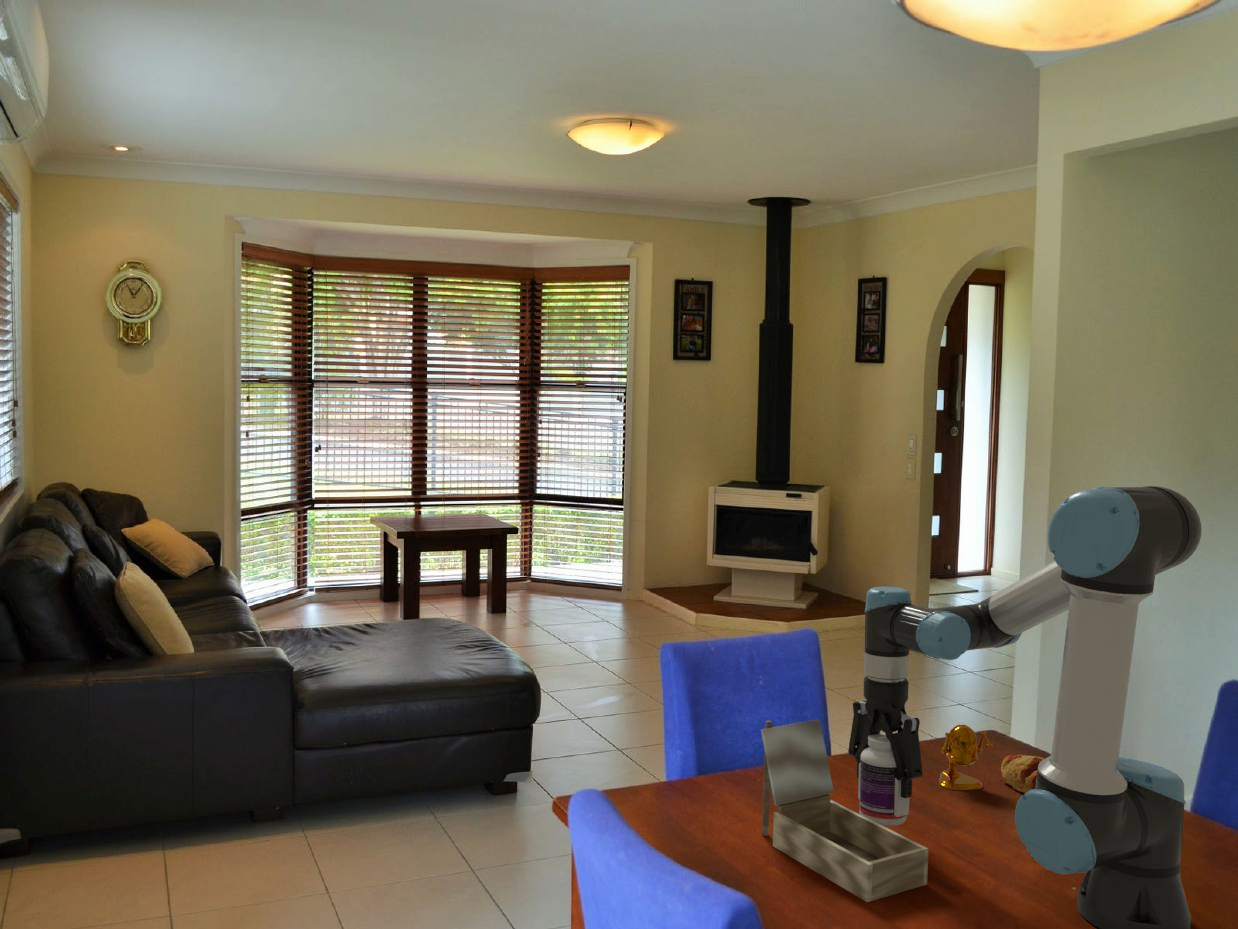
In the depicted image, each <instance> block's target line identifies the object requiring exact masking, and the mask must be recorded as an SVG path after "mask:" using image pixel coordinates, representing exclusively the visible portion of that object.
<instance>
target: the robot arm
mask: <svg viewBox="0 0 1238 929" xmlns="http://www.w3.org/2000/svg"><path fill="white" fill-rule="evenodd" d="M1052 514H1053V515H1052V516H1051V518H1050V521H1049V523H1048V524H1049V525H1048V529H1047V530H1048V531H1047V544H1048V545H1047V546H1048V549H1049V552H1050V553H1052V554H1053V555H1054V556H1053V558H1052V559H1053V561H1052V562H1050V563H1048V564H1046V565H1045V566H1042V567H1041V568H1040V569H1037V570H1035V571H1033V572H1032V573H1031V574H1028V575H1027V576H1025V577H1023V578H1021V579H1019V580H1018V581H1016V582H1014V583H1012V584H1010V585H1009V586H1007V587H1005V588H1003V589H1001V590H999V591H998V592H996V593H994V594H993V595H991V596H989V597H986V598H985V599H983V600H982V601H980V602H977V603H972V604H964V605H956V606H953V605H952V606H946V607H937V608H936V607H934V608H932V607H924V606H920V605H919V606H918V605H915V604H912V599H911V595H912V594H911V592H910V590H907V589H906V588H903V587H897V586H875V587H872V588H870V589H868V590H867V592H866V599H865V608H864V611H863V612H864V614H865V616H864V659H863V660H864V661H863V674H864V675H865V677H864V678H863V698H864V699H865V700H859V701H854V702H853V703H852V712H853V718H852V723H851V730H850V735H849V742H848V743H849V744H848V751H847V753H848V755H849V756H853V757H854V759H855V761H856V777H857V779H858V790H857V791H858V794H857V796H858V797H857V798H858V800H859V801H860V763H861V753H862V752H863V750H865V749H866V748H868V747H870V746H869V745H868V736H869V735H874V734H879V733H881V732H882V733H884V734H886V737H887V739H889V741H890V744H891V748H892V752H893V756H894V759H895V763H896V767H897V771H898V774H899V777H896V778H895V803H894V816H896V817H900V816H904V815H907V816H908V815H910V798H912V795H913V780H914V779H918V778H921V777H923V766H922V757H921V746H920V745H921V744H920V737H919V736H920V735H919V729H920V724H921V722H920V719H919V717H913V718H912V717H911V716H909V715H908V714H907V711H906V706H905V705H906V703H907V702H908V700H909V683H910V682H909V680H908V679H907V678H908V677H909V671H910V670H909V669H910V668H909V666H910V651H912V652H915V653H919V654H921V655H924V656H928V657H932V658H933V659H938V660H939V659H941V660H947V661H953V660H957V659H958V658H960V657H961V656H962V655H964V654H965V653H966V652H967V651H973V650H974V651H975V650H982V649H991V648H994V649H998V648H1002V647H1005V646H1008V645H1009V646H1010V645H1012V644H1014V643H1016V642H1017V641H1019V640H1020V637H1021V635H1022V634H1023V633H1024V632H1026V631H1028V630H1031V629H1033V628H1034V627H1036V626H1039V625H1040V624H1042V623H1043V624H1044V623H1045V622H1047V621H1048V620H1050V619H1052V618H1055V617H1056V616H1059V615H1060V614H1063V613H1065V612H1067V611H1068V612H1067V620H1066V621H1067V622H1066V630H1065V638H1064V647H1063V653H1062V654H1063V656H1062V663H1061V672H1060V677H1059V678H1060V679H1059V687H1058V696H1057V704H1056V713H1055V721H1054V728H1053V730H1054V731H1053V739H1052V745H1051V754H1050V755H1049V756H1048V757H1046V758H1044V760H1042V761H1041V762H1040V763H1039V765H1038V771H1037V778H1036V787H1035V789H1031V790H1029V791H1028V792H1026V793H1024V794H1023V795H1021V796H1020V797H1019V799H1018V800H1017V803H1016V805H1015V809H1014V822H1015V827H1016V830H1017V833H1018V834H1017V835H1018V836H1019V839H1020V841H1021V842H1022V844H1024V845H1025V848H1026V851H1027V852H1028V854H1029V855H1030V856H1031V857H1032V859H1034V860H1035V861H1036V862H1037V863H1038V864H1039V865H1040V866H1042V867H1043V868H1045V869H1046V870H1048V871H1050V872H1052V873H1055V874H1059V875H1072V874H1076V873H1079V874H1082V873H1083V874H1084V873H1085V875H1084V877H1083V879H1082V881H1081V884H1080V886H1079V888H1078V892H1077V910H1078V912H1079V914H1080V915H1081V917H1082V918H1084V920H1086V921H1087V922H1089V923H1090V924H1091V925H1094V926H1095V927H1096V928H1099V929H1191V925H1192V924H1191V921H1192V920H1191V919H1192V916H1191V911H1190V909H1189V906H1188V901H1187V900H1188V899H1187V897H1186V894H1185V889H1184V886H1183V883H1182V879H1181V860H1182V859H1181V858H1182V857H1181V856H1182V844H1183V842H1182V841H1183V830H1184V829H1183V827H1184V816H1185V815H1184V813H1185V805H1186V800H1185V783H1184V781H1183V779H1182V778H1181V777H1180V776H1179V774H1177V773H1176V772H1173V771H1172V770H1171V769H1167V768H1165V767H1162V766H1161V765H1157V764H1153V763H1150V762H1146V761H1143V760H1137V759H1132V758H1127V757H1122V756H1121V757H1120V752H1121V751H1120V749H1121V743H1122V742H1121V741H1122V734H1123V728H1124V726H1123V725H1124V720H1125V712H1126V705H1127V696H1128V690H1129V682H1130V681H1129V680H1130V673H1131V665H1132V659H1133V652H1134V651H1133V650H1134V644H1135V636H1136V628H1137V620H1138V611H1139V605H1140V604H1141V602H1143V601H1144V600H1145V599H1147V598H1148V597H1150V596H1151V595H1153V593H1154V588H1155V587H1154V586H1155V579H1156V575H1158V574H1159V575H1160V573H1163V572H1165V571H1167V570H1169V569H1172V568H1176V567H1177V566H1179V565H1182V564H1183V563H1185V562H1187V561H1188V560H1189V559H1190V557H1191V556H1192V555H1193V554H1194V553H1195V552H1196V551H1197V549H1198V547H1199V544H1200V542H1201V537H1202V523H1201V522H1202V521H1201V517H1200V515H1199V512H1198V511H1197V508H1196V507H1194V505H1193V503H1192V502H1191V501H1190V500H1189V498H1188V499H1187V497H1186V496H1184V495H1183V494H1180V493H1179V491H1178V492H1177V491H1175V490H1173V489H1171V488H1168V487H1164V486H1154V485H1151V486H1149V485H1148V486H1129V487H1128V486H1127V487H1126V486H1123V487H1121V486H1120V487H1117V486H1116V487H1115V486H1113V487H1110V486H1109V487H1108V486H1107V487H1106V486H1100V487H1094V488H1092V489H1085V490H1080V491H1077V492H1075V493H1072V494H1071V495H1070V496H1068V497H1067V498H1065V499H1064V500H1063V501H1061V503H1060V504H1059V505H1058V506H1057V508H1056V509H1055V511H1054V512H1053V513H1052ZM905 769H906V771H905Z"/></svg>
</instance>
